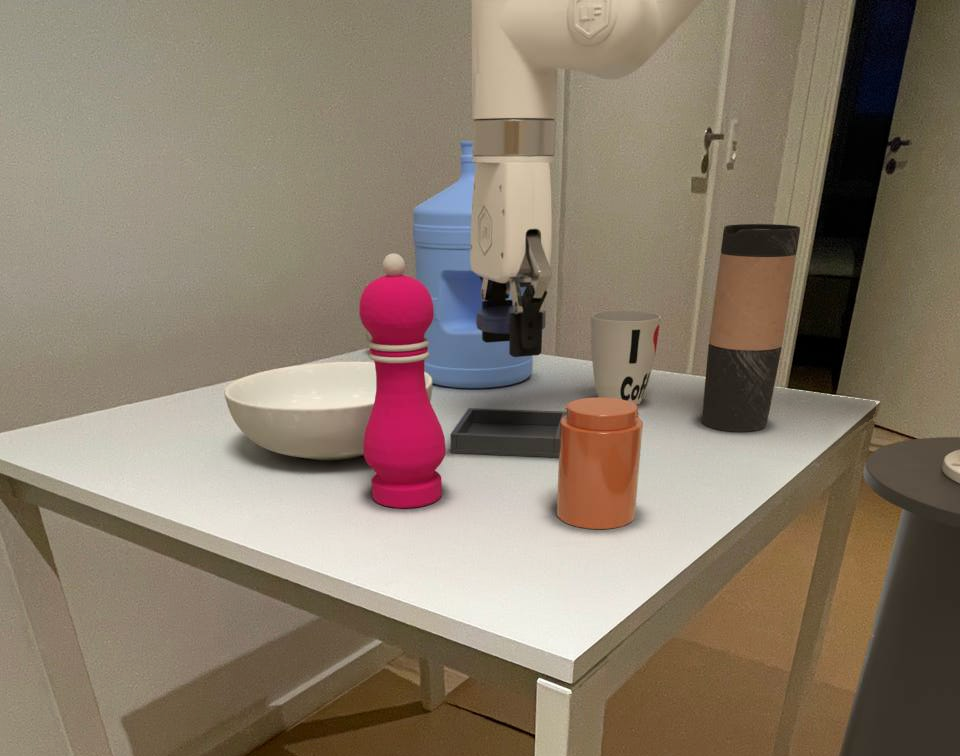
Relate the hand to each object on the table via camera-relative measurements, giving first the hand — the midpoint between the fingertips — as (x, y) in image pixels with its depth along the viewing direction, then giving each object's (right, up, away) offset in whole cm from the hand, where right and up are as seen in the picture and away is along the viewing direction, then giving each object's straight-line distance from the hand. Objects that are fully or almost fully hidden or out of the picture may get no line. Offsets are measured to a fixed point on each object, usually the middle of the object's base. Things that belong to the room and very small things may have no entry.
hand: (510, 346), depth 85 cm
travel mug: (+26, -5, +10) cm, 28 cm away
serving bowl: (-18, -10, +3) cm, 21 cm away
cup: (+14, 0, +19) cm, 23 cm away
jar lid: (0, +3, -2) cm, 3 cm away
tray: (0, -8, +5) cm, 10 cm away
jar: (+7, -19, -14) cm, 25 cm away
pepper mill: (-10, -17, -9) cm, 22 cm away
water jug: (-4, +7, +31) cm, 32 cm away
